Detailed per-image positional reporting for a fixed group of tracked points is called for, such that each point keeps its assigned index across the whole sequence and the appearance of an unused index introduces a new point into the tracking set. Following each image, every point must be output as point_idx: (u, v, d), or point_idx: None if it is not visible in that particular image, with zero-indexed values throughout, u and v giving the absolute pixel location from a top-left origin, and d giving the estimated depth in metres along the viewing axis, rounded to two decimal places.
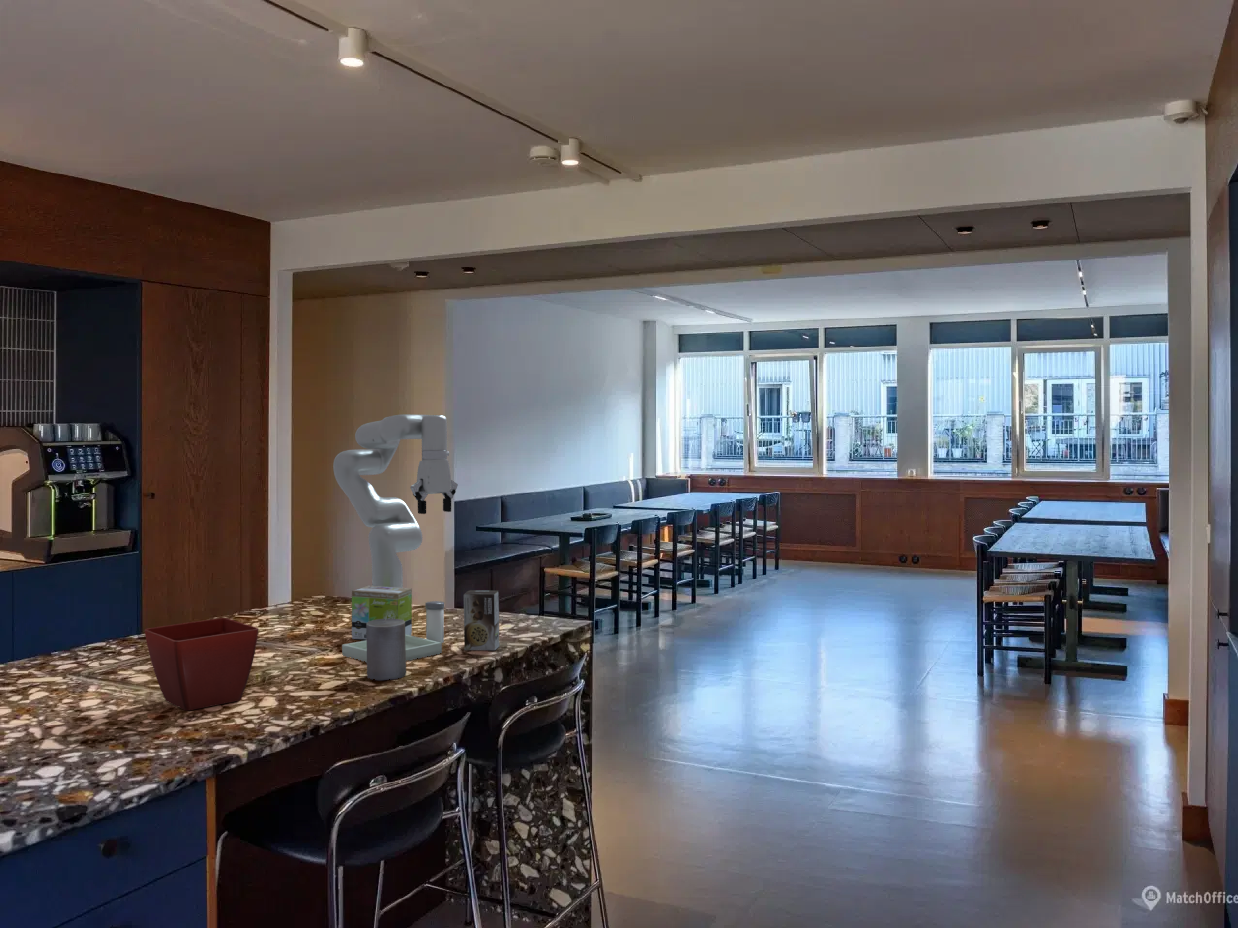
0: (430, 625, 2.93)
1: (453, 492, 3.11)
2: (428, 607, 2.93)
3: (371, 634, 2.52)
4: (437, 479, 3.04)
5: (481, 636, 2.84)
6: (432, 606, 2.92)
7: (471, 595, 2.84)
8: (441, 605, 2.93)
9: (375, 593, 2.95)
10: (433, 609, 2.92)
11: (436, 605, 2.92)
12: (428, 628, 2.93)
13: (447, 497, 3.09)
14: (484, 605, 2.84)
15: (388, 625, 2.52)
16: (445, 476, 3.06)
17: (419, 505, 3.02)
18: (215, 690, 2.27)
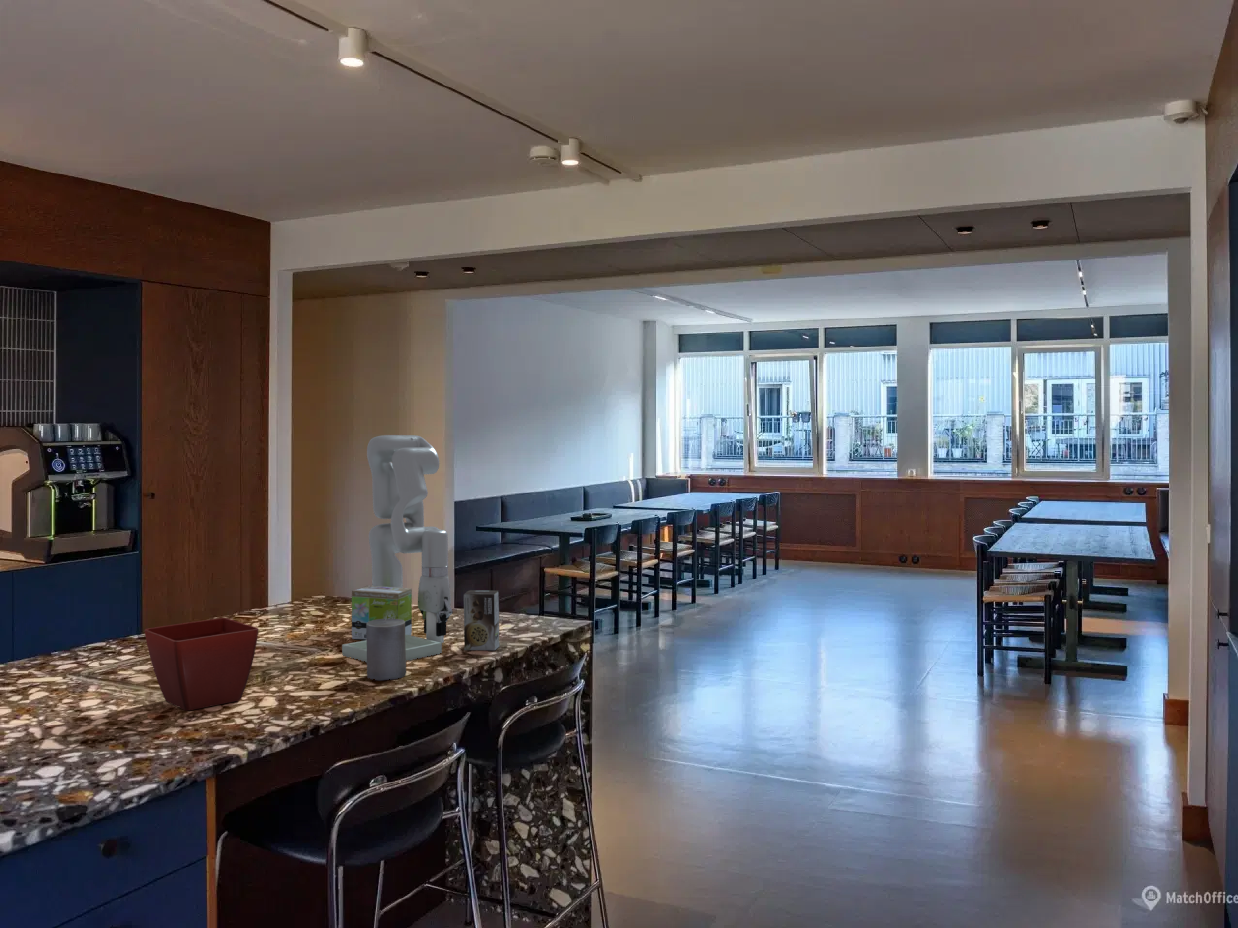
0: (430, 625, 2.93)
1: None
2: None
3: (371, 634, 2.52)
4: None
5: (481, 636, 2.84)
6: None
7: (471, 595, 2.84)
8: None
9: (375, 593, 2.95)
10: None
11: None
12: (428, 628, 2.93)
13: None
14: (484, 605, 2.84)
15: (388, 625, 2.52)
16: None
17: (443, 627, 2.93)
18: (215, 690, 2.27)
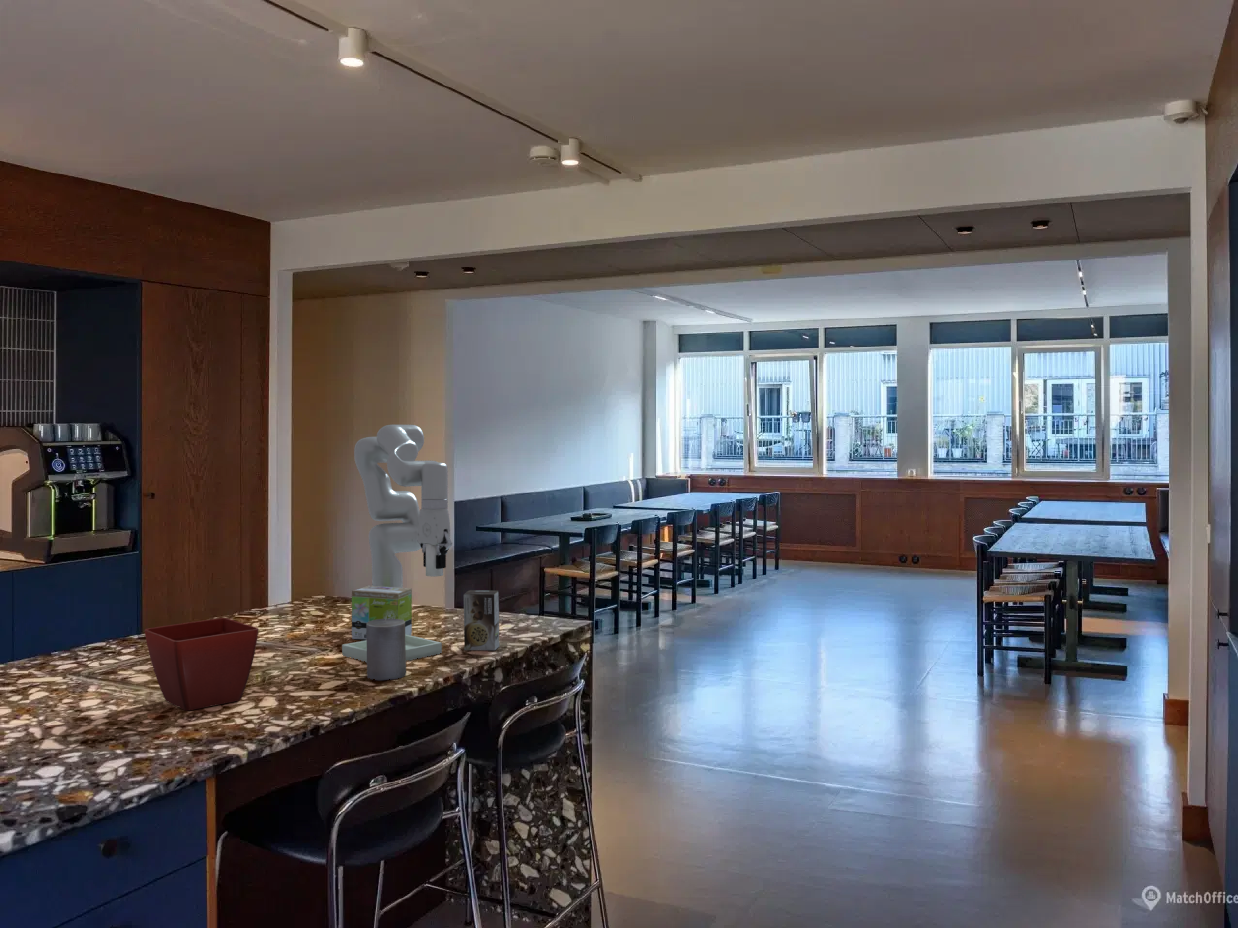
0: (429, 557, 2.92)
1: None
2: None
3: (371, 634, 2.52)
4: None
5: (481, 636, 2.84)
6: None
7: (471, 595, 2.84)
8: None
9: (375, 593, 2.95)
10: None
11: None
12: (428, 560, 2.92)
13: None
14: (484, 605, 2.84)
15: (388, 625, 2.52)
16: None
17: (443, 560, 2.92)
18: (215, 690, 2.27)
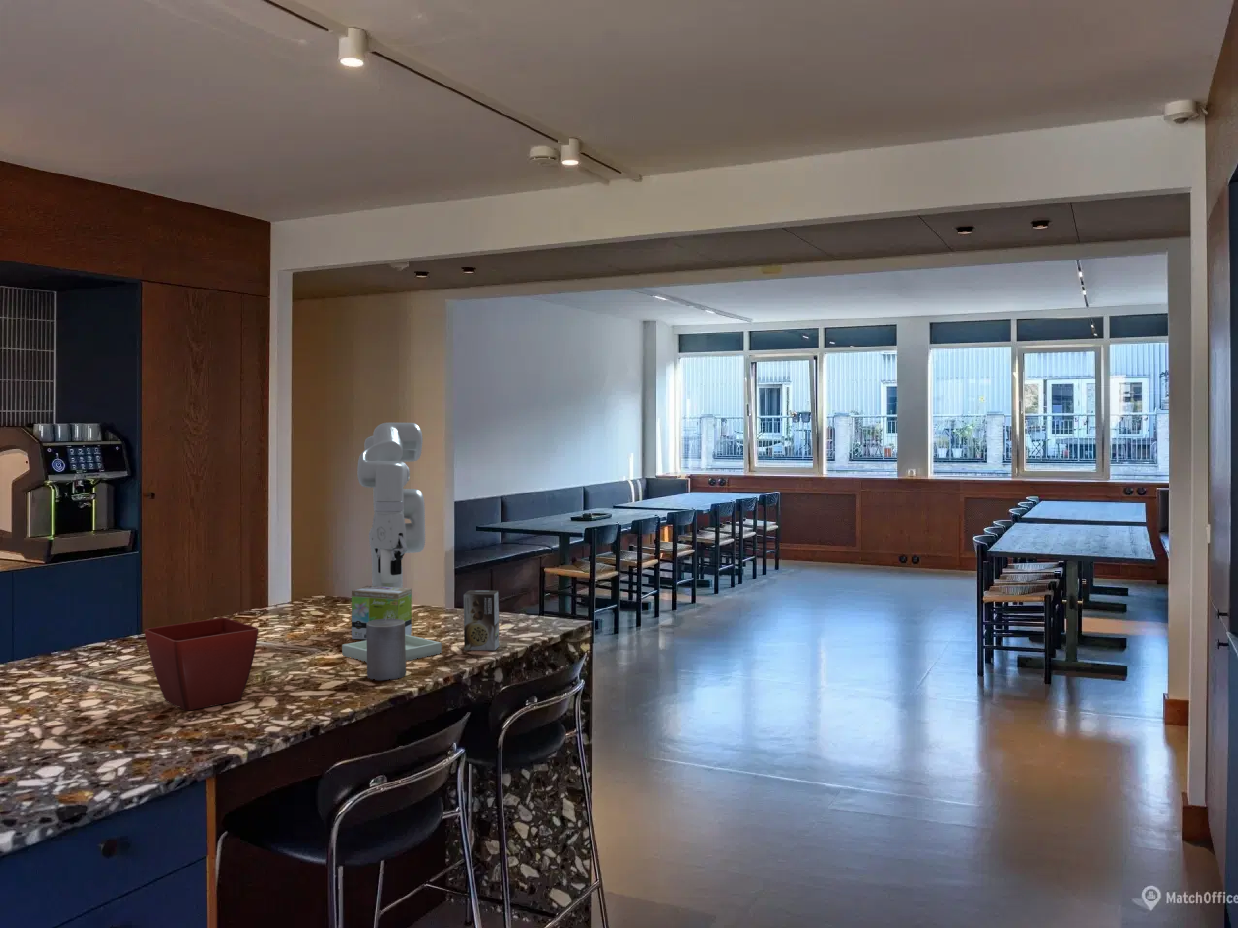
0: (384, 563, 2.76)
1: None
2: None
3: (371, 634, 2.52)
4: None
5: (481, 636, 2.84)
6: None
7: (471, 595, 2.84)
8: None
9: (375, 593, 2.95)
10: None
11: None
12: (382, 566, 2.77)
13: None
14: (484, 605, 2.84)
15: (388, 625, 2.52)
16: None
17: (398, 565, 2.76)
18: (215, 690, 2.27)
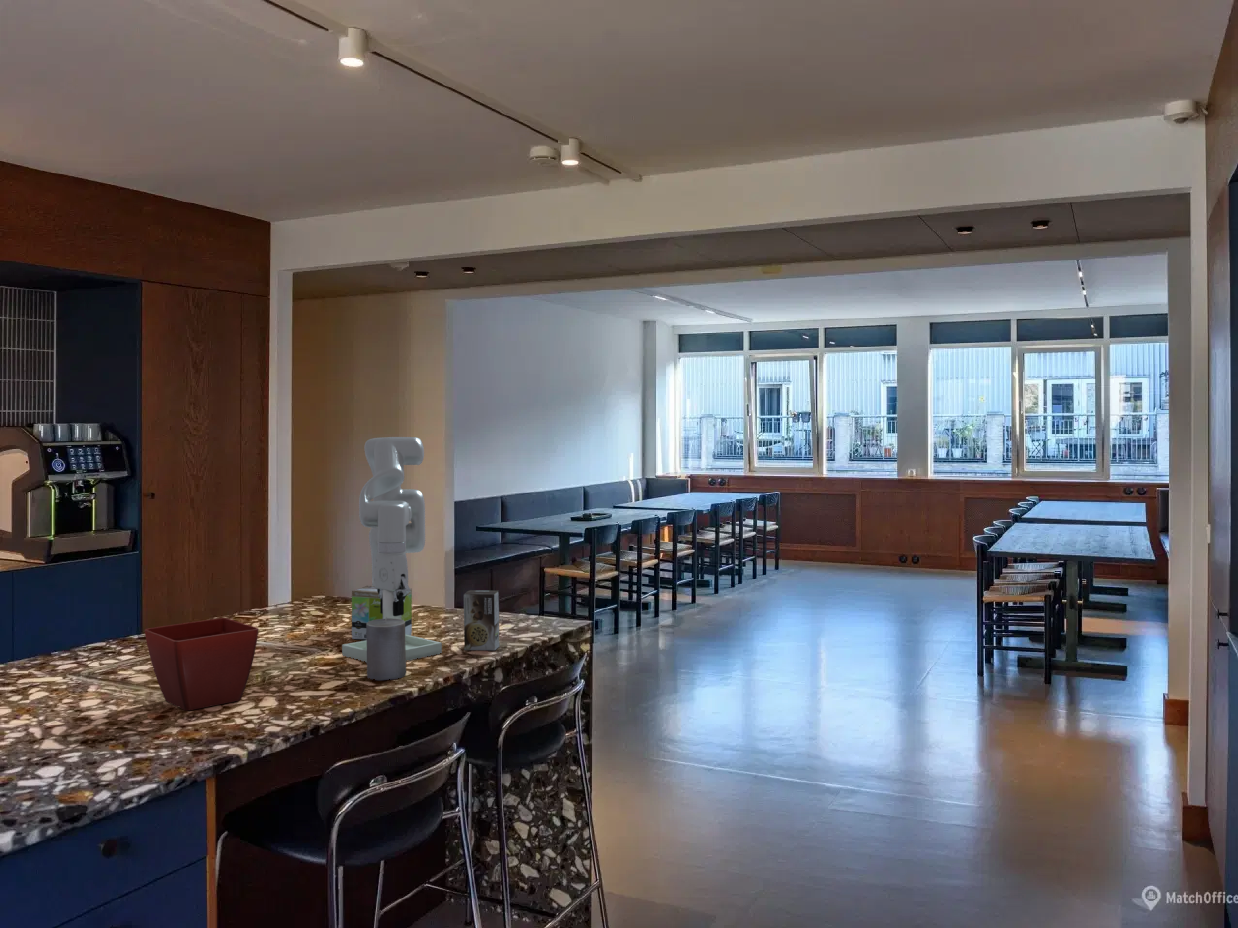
0: (386, 604, 2.76)
1: None
2: None
3: (371, 634, 2.52)
4: None
5: (481, 636, 2.84)
6: None
7: (471, 595, 2.84)
8: None
9: (375, 593, 2.95)
10: None
11: None
12: (385, 607, 2.76)
13: None
14: (484, 605, 2.84)
15: (388, 625, 2.52)
16: None
17: (400, 606, 2.76)
18: (215, 690, 2.27)
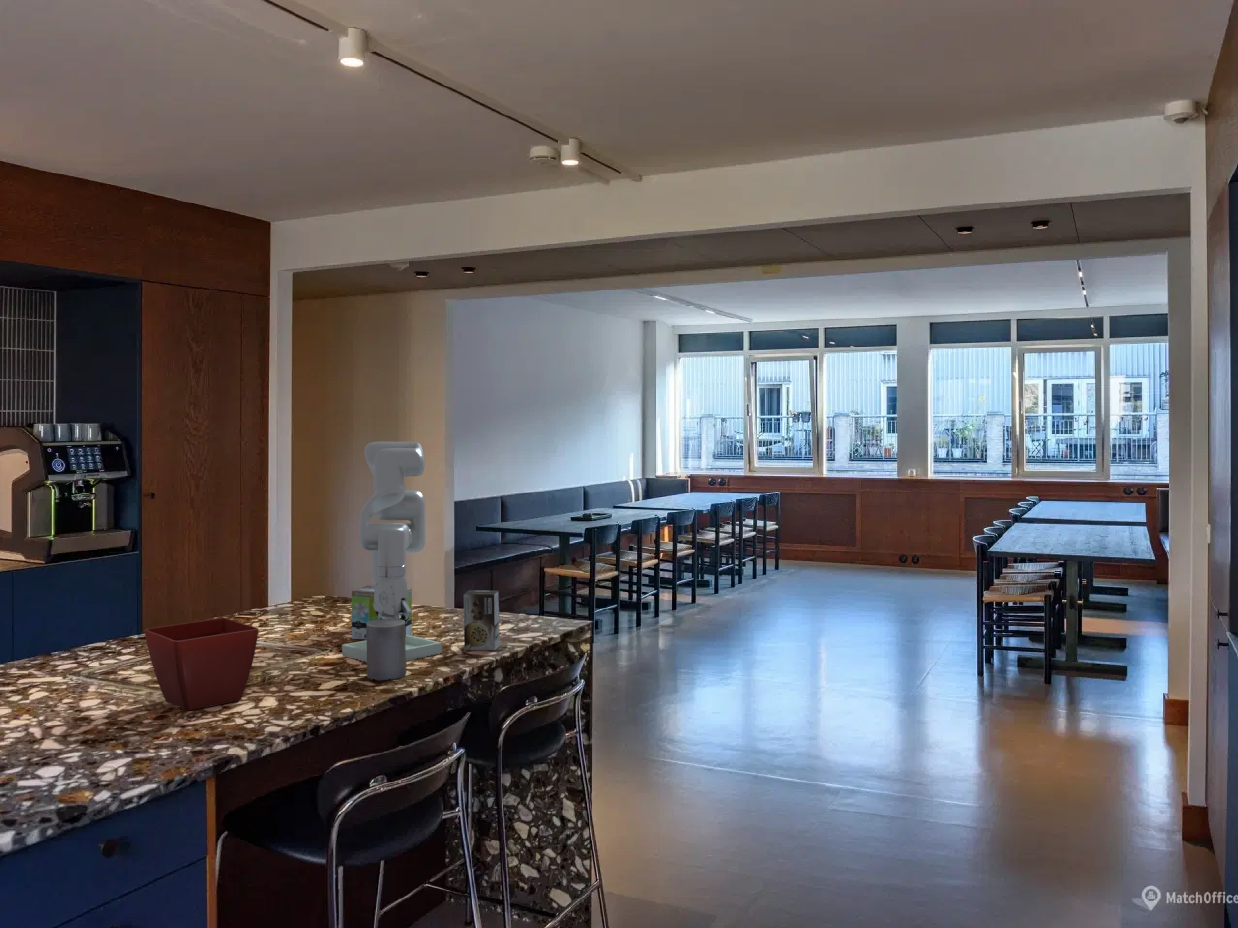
0: None
1: None
2: (384, 614, 2.77)
3: (371, 634, 2.52)
4: None
5: (481, 636, 2.84)
6: None
7: (471, 595, 2.84)
8: None
9: None
10: (389, 616, 2.76)
11: None
12: None
13: None
14: (484, 605, 2.84)
15: (388, 625, 2.52)
16: None
17: None
18: (215, 690, 2.27)
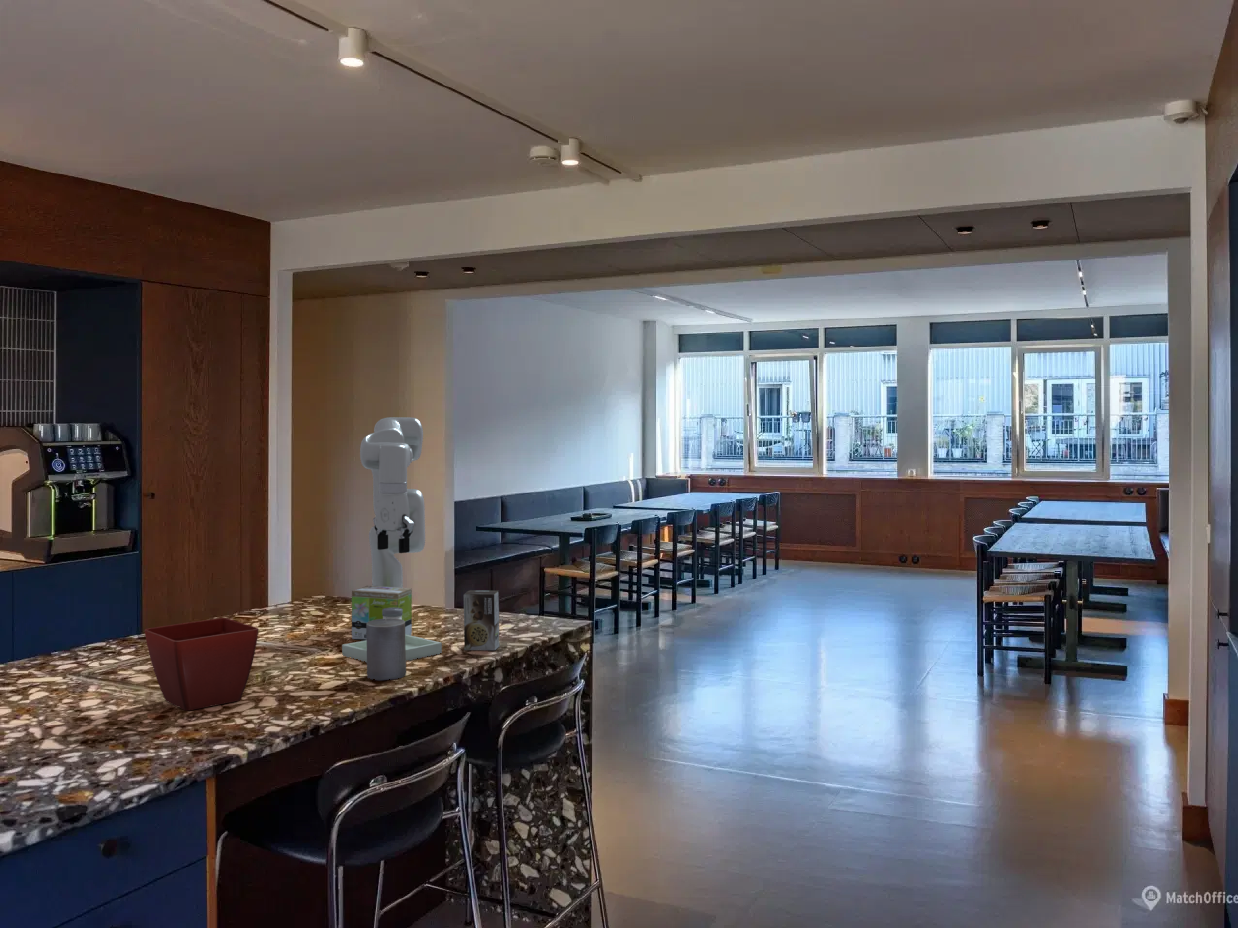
0: None
1: None
2: (385, 614, 2.77)
3: (371, 634, 2.52)
4: None
5: (481, 636, 2.84)
6: (389, 613, 2.76)
7: (471, 595, 2.84)
8: (399, 612, 2.77)
9: (375, 593, 2.95)
10: (390, 616, 2.76)
11: (393, 612, 2.76)
12: None
13: (384, 533, 2.83)
14: (484, 605, 2.84)
15: (388, 625, 2.52)
16: None
17: (406, 543, 2.76)
18: (215, 690, 2.27)
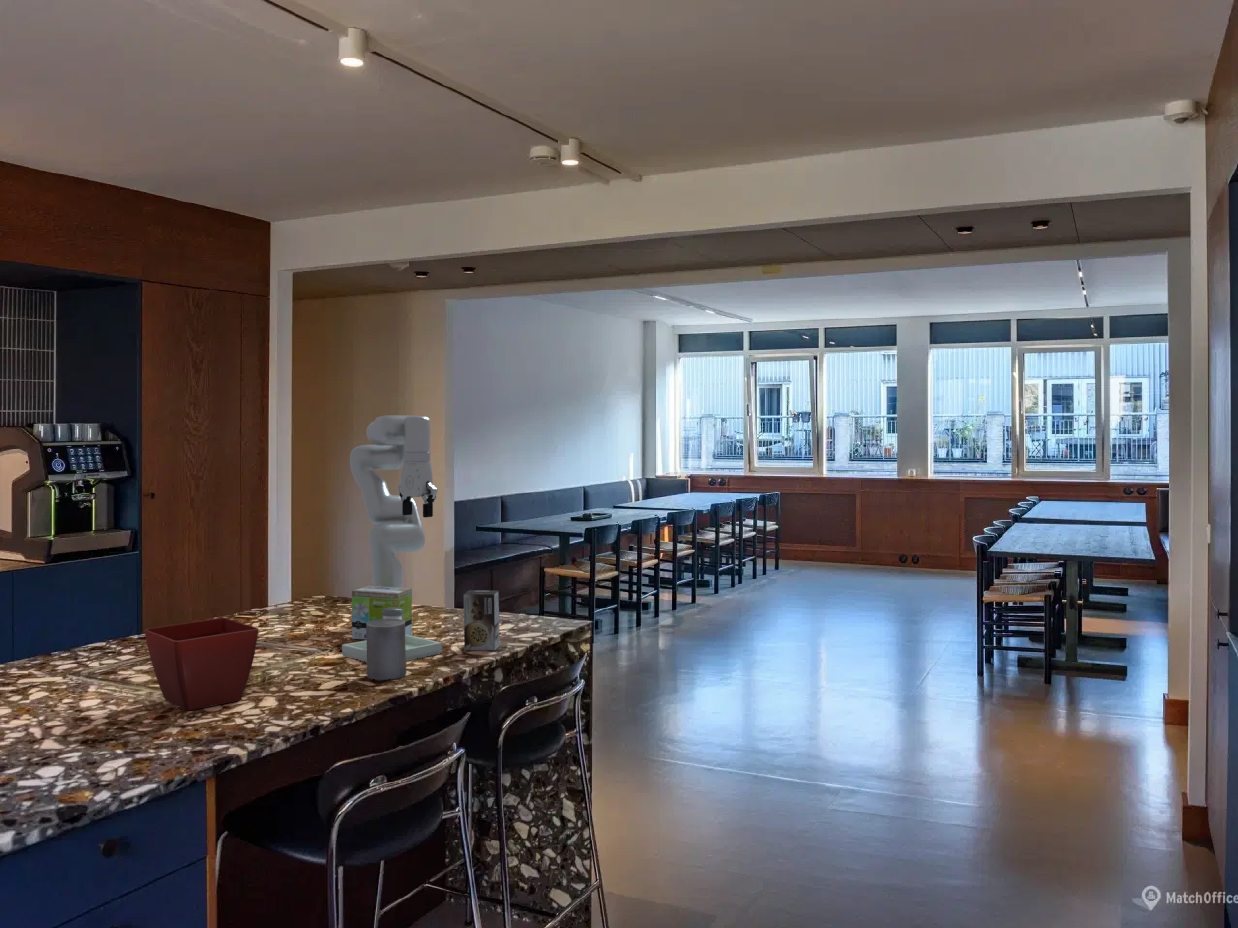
0: None
1: None
2: (385, 613, 2.77)
3: (371, 634, 2.52)
4: None
5: (481, 636, 2.84)
6: (390, 612, 2.76)
7: (471, 595, 2.84)
8: (399, 611, 2.78)
9: (375, 593, 2.95)
10: (390, 615, 2.77)
11: (394, 611, 2.77)
12: None
13: (408, 500, 3.02)
14: (484, 605, 2.84)
15: (388, 625, 2.52)
16: None
17: (430, 508, 2.95)
18: (215, 690, 2.27)
